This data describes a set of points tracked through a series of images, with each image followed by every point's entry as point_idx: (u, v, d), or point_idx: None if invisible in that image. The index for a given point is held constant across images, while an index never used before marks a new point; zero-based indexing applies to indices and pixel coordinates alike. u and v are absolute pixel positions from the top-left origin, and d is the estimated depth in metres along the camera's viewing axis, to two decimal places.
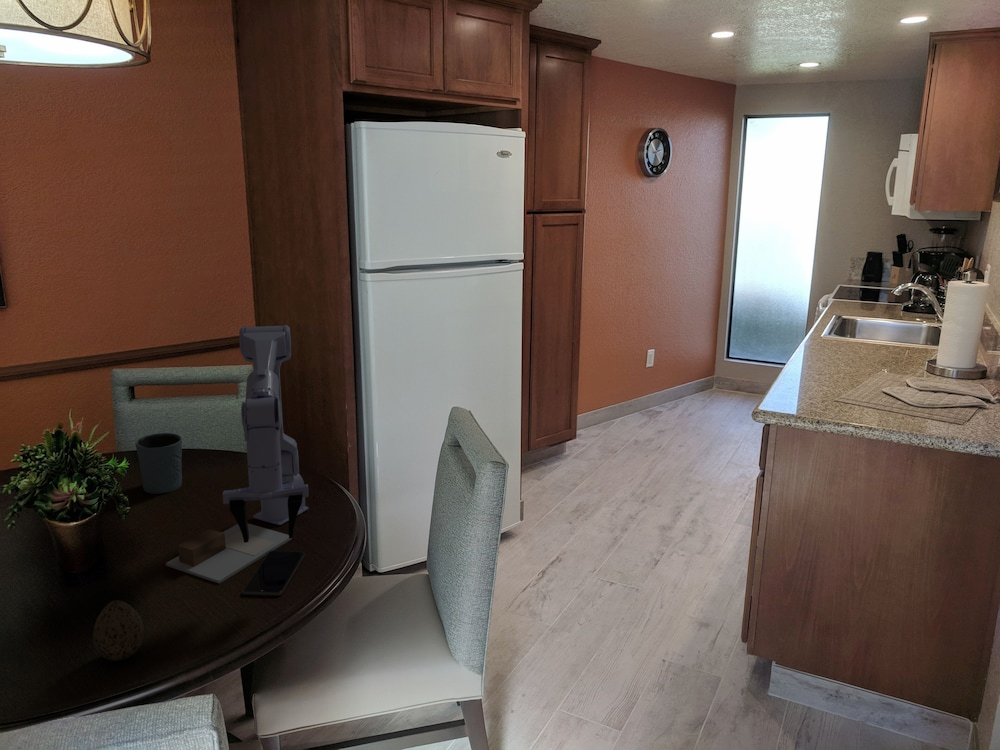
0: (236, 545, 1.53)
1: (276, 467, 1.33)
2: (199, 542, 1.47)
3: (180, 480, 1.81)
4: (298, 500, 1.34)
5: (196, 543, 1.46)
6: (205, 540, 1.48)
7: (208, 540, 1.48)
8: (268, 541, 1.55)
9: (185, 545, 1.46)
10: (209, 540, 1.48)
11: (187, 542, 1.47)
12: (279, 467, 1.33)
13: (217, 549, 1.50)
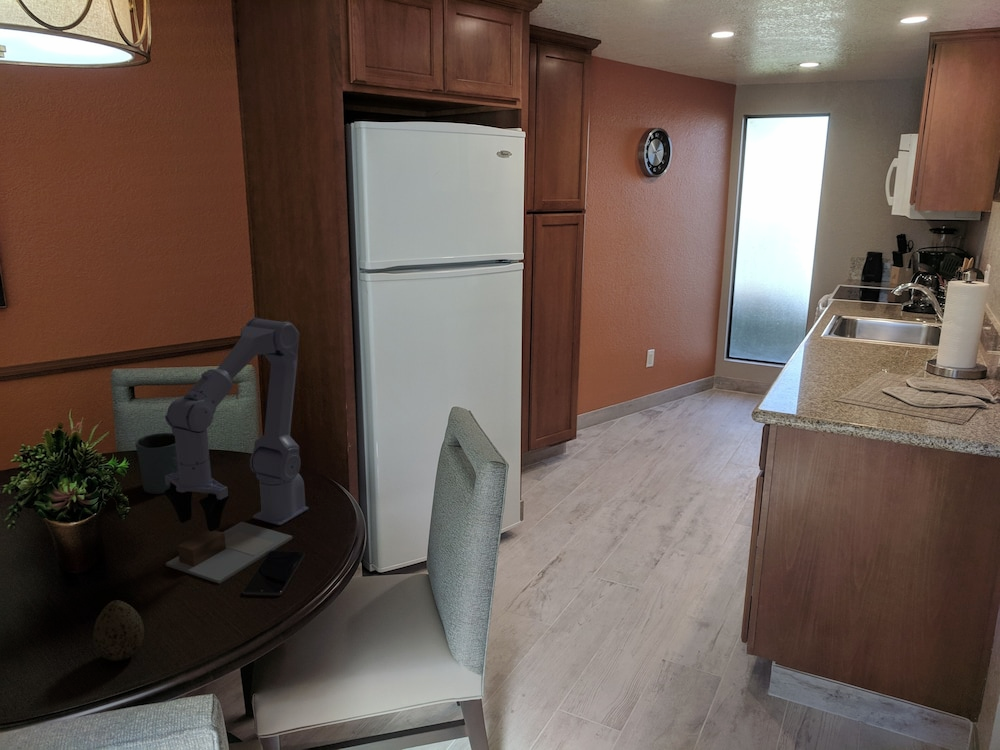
0: (236, 545, 1.53)
1: (193, 466, 1.41)
2: (199, 542, 1.47)
3: None
4: (209, 501, 1.41)
5: (196, 543, 1.46)
6: (205, 540, 1.48)
7: (208, 540, 1.48)
8: (268, 541, 1.55)
9: (185, 545, 1.46)
10: (209, 540, 1.48)
11: (187, 542, 1.47)
12: (198, 466, 1.42)
13: (217, 549, 1.50)
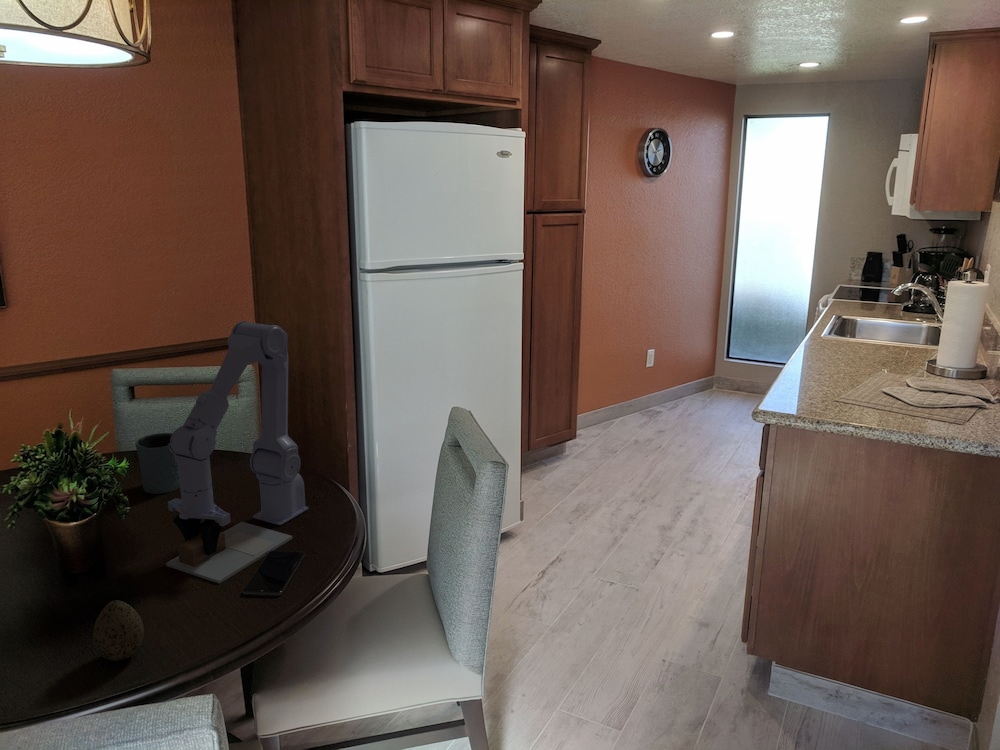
0: (236, 545, 1.53)
1: (196, 493, 1.43)
2: (199, 542, 1.47)
3: None
4: (205, 526, 1.43)
5: (196, 543, 1.46)
6: None
7: None
8: (268, 541, 1.55)
9: (185, 545, 1.46)
10: None
11: (187, 542, 1.47)
12: (201, 493, 1.43)
13: (217, 549, 1.50)
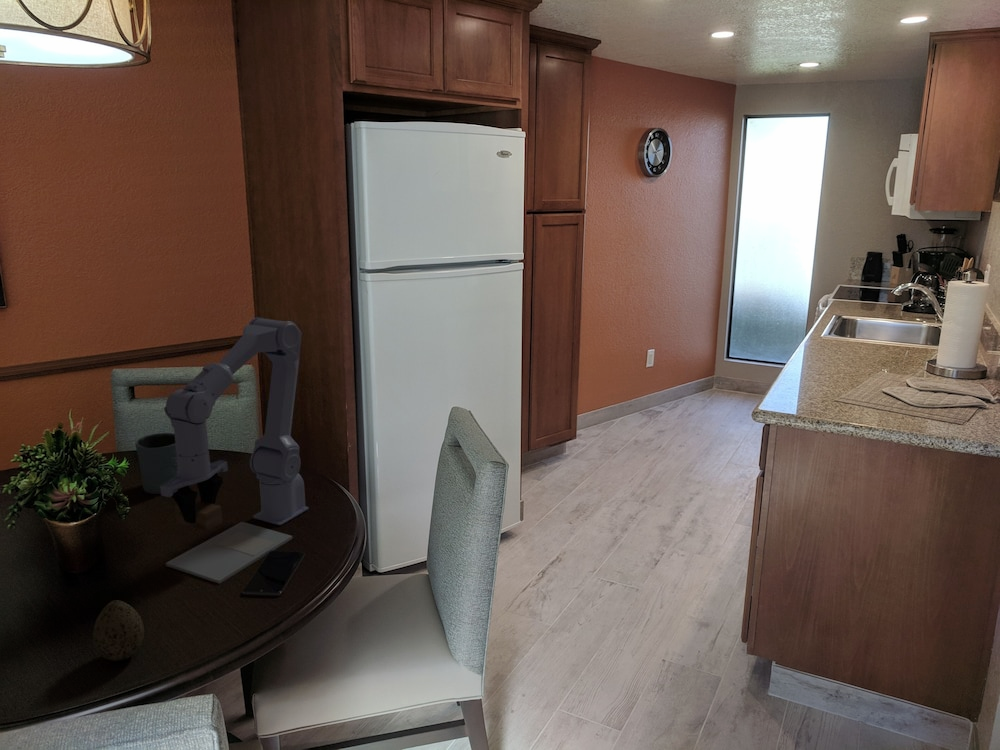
0: (236, 545, 1.53)
1: None
2: None
3: None
4: None
5: None
6: None
7: None
8: (268, 541, 1.55)
9: None
10: None
11: None
12: (177, 457, 1.42)
13: (198, 524, 1.44)
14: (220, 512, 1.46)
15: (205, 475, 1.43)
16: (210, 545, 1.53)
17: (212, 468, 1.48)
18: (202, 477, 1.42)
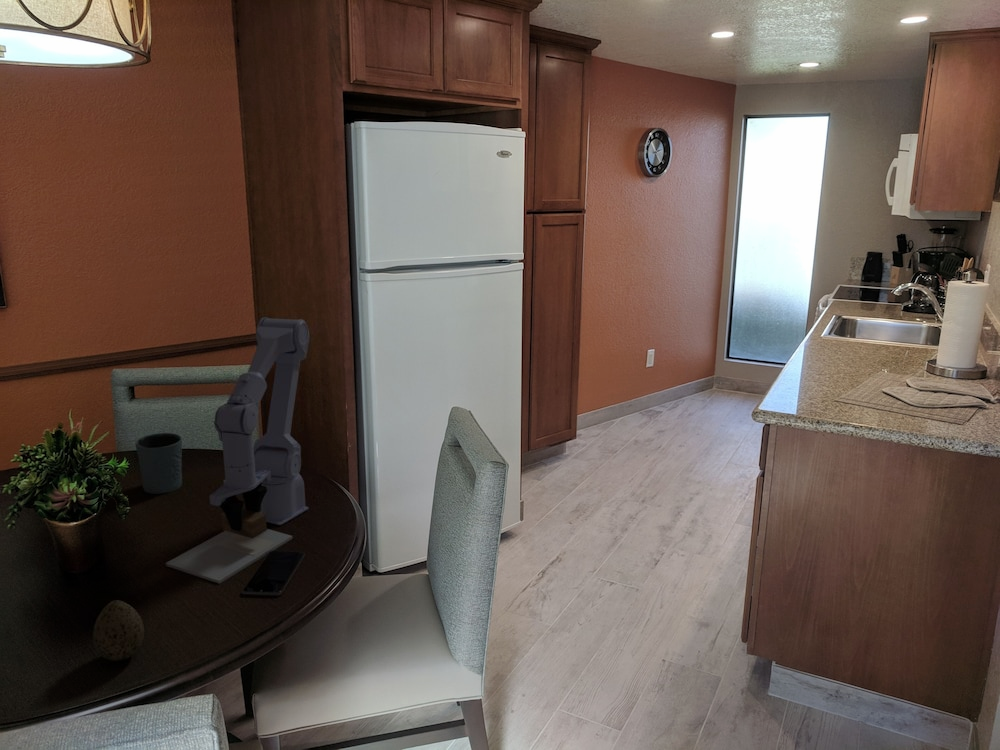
0: (236, 545, 1.53)
1: (224, 465, 1.48)
2: None
3: (180, 480, 1.81)
4: None
5: None
6: None
7: None
8: (268, 541, 1.55)
9: None
10: None
11: None
12: (225, 467, 1.47)
13: (244, 532, 1.50)
14: (264, 520, 1.52)
15: (251, 485, 1.49)
16: (210, 545, 1.53)
17: (257, 478, 1.54)
18: (248, 487, 1.48)
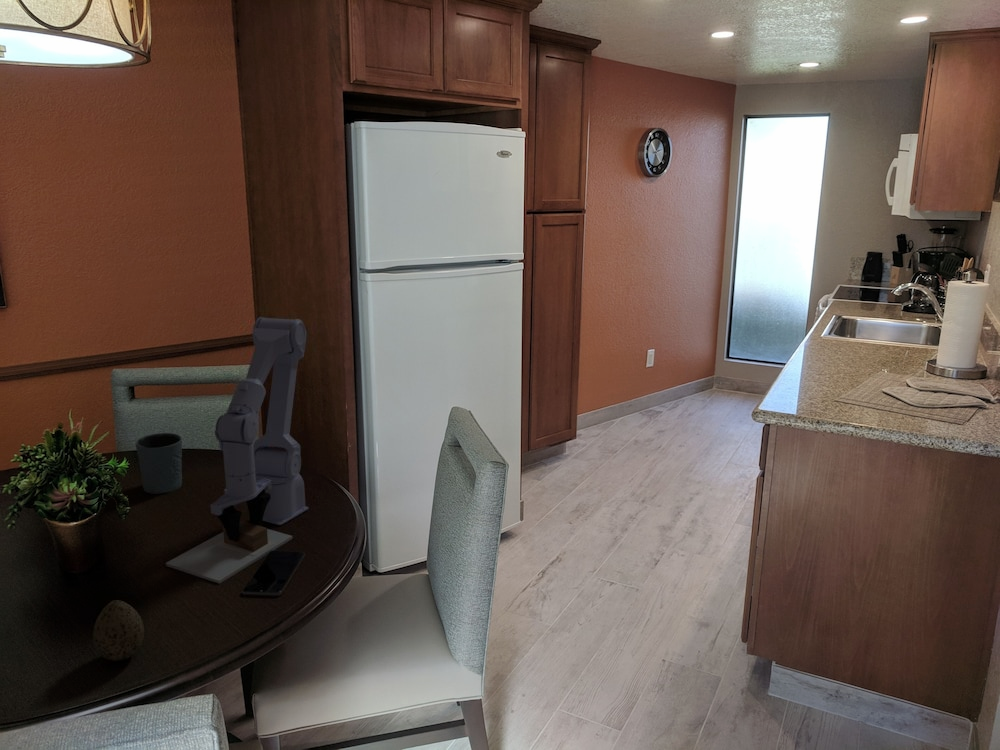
0: None
1: (225, 474, 1.49)
2: None
3: (180, 480, 1.81)
4: None
5: None
6: (241, 529, 1.52)
7: (239, 531, 1.51)
8: (268, 541, 1.55)
9: None
10: (240, 531, 1.51)
11: (241, 522, 1.55)
12: (226, 477, 1.48)
13: (245, 545, 1.51)
14: (265, 533, 1.53)
15: (252, 494, 1.49)
16: (210, 545, 1.53)
17: (257, 486, 1.54)
18: (249, 496, 1.49)
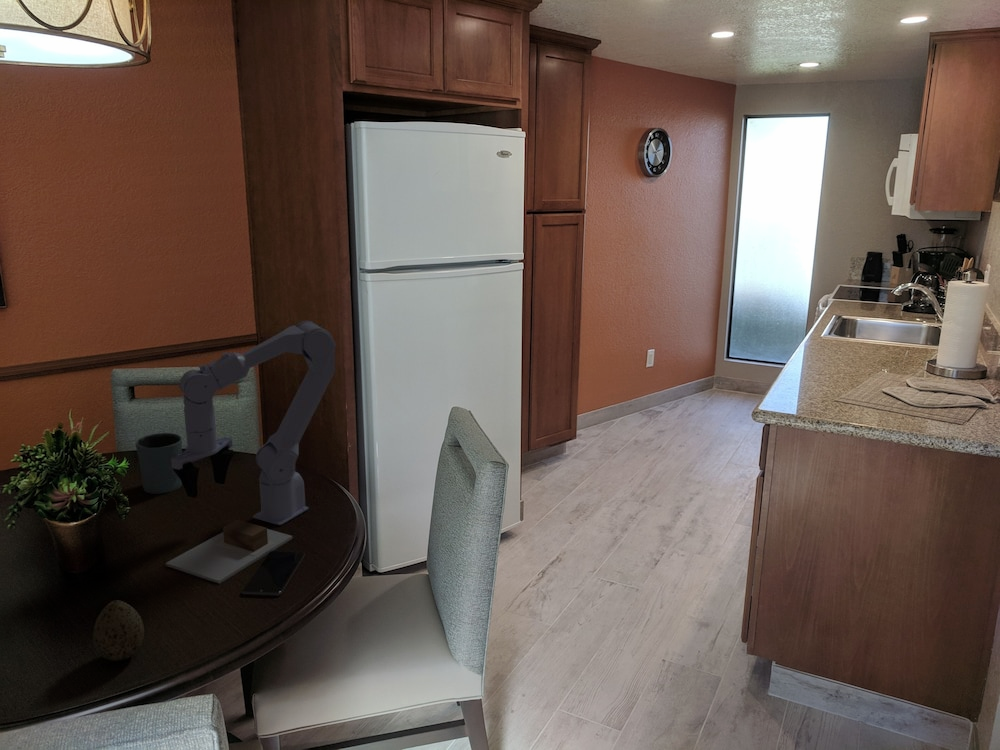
0: None
1: (186, 431, 1.53)
2: (237, 527, 1.53)
3: (180, 480, 1.81)
4: None
5: (237, 526, 1.53)
6: (241, 529, 1.52)
7: (239, 531, 1.51)
8: (268, 541, 1.55)
9: (235, 522, 1.55)
10: (240, 531, 1.51)
11: (241, 522, 1.55)
12: (186, 433, 1.53)
13: (245, 545, 1.51)
14: (265, 533, 1.53)
15: (212, 450, 1.54)
16: (210, 545, 1.53)
17: (218, 444, 1.59)
18: (209, 452, 1.54)
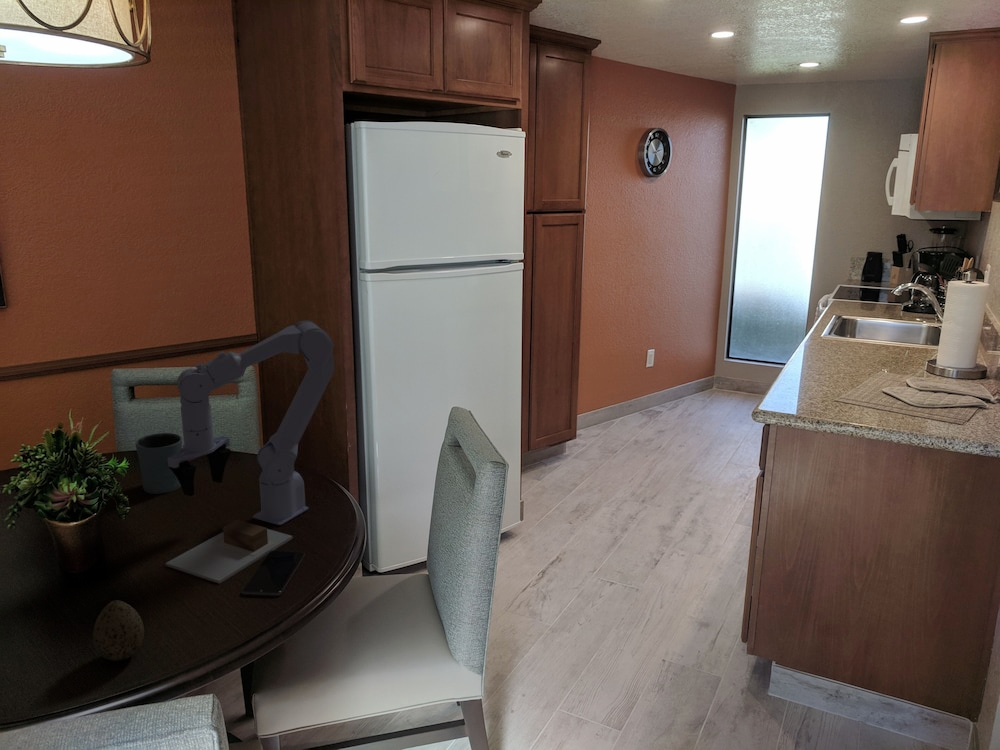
0: None
1: None
2: (237, 527, 1.53)
3: None
4: None
5: (237, 526, 1.53)
6: (241, 529, 1.52)
7: (239, 531, 1.51)
8: (268, 541, 1.55)
9: (235, 522, 1.55)
10: (240, 531, 1.51)
11: (241, 522, 1.55)
12: (183, 432, 1.53)
13: (245, 545, 1.51)
14: (265, 533, 1.53)
15: (209, 449, 1.55)
16: (210, 545, 1.53)
17: (215, 443, 1.60)
18: (206, 450, 1.54)
